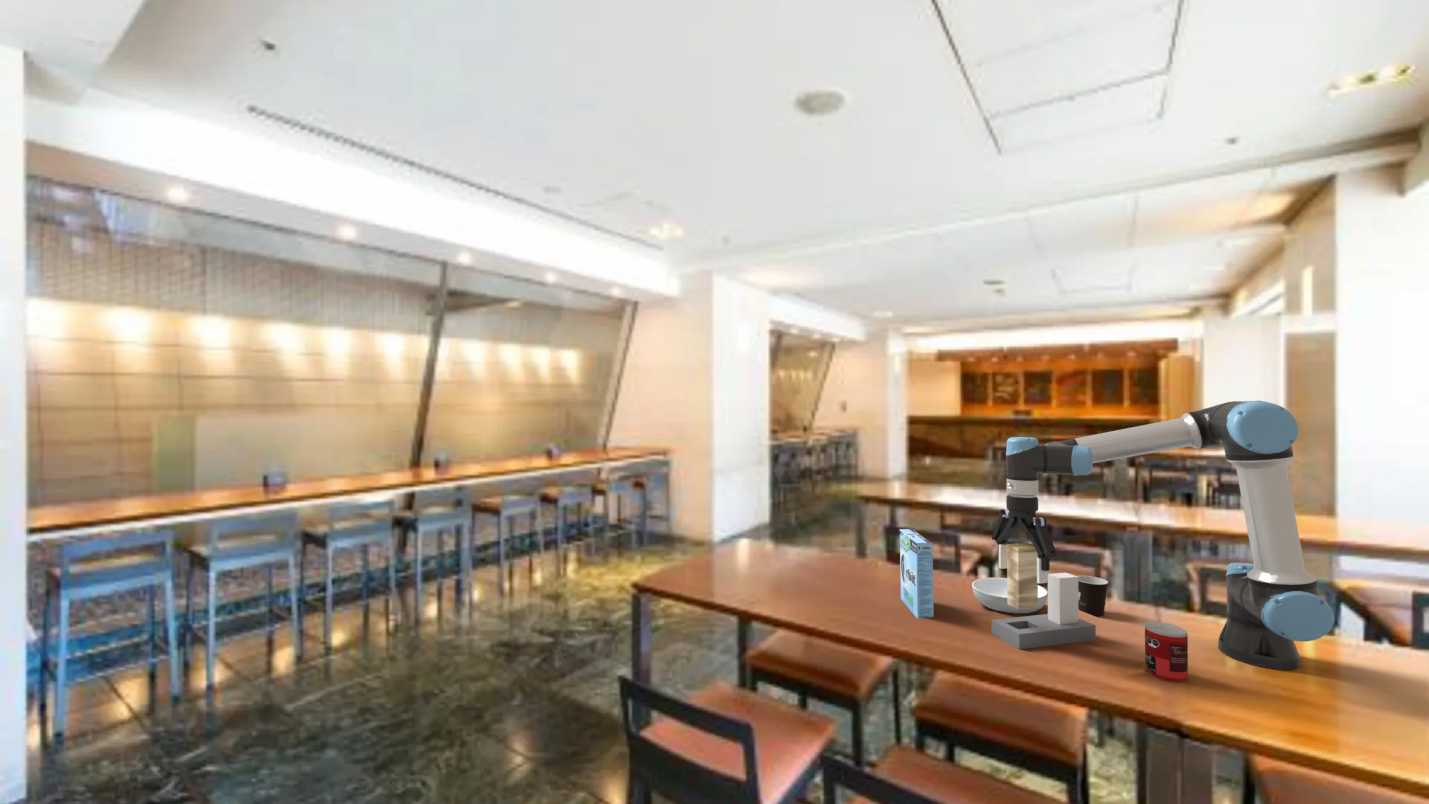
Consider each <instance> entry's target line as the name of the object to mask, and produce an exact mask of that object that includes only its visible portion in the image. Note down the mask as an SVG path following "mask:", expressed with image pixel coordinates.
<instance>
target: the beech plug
mask: <svg viewBox="0 0 1429 804" xmlns="http://www.w3.org/2000/svg"><path fill="white" fill-rule="evenodd" d="M1006 544H1007V568H1006V569H1007V571H1006V572H1007V573H1006V578H1007V604H1008V605H1010V606H1013V607H1015V608H1017V609H1026V608H1036V607H1038V585H1039V583H1037V557H1038V556H1039V554H1038V552H1037V550H1036V549H1035V547H1034V545H1033V544H1030V543H1027V542H1023V543H1022V542H1021V543H1019V542H1018V543H1006Z"/></svg>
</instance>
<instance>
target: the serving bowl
mask: <svg viewBox="0 0 1429 804" xmlns="http://www.w3.org/2000/svg"><path fill="white" fill-rule="evenodd" d="M971 587H972V591H973V594H974V596H975V598H976V599H977V600H978V602H980V604H982V605H984V606H985V607H987V608H989V609H991V610H993V611H997V612H1001V613H1007V614H1014V615H1016V614H1017V615H1025V614H1032V613H1034V612H1035V613H1036V612H1037V611H1039V610H1040V609H1042V608H1043V607H1044V606H1045V604H1046V603H1047V601H1048V590H1046V589H1045V587H1043V586H1041V585H1039V584H1038V607H1036V608H1026V609H1017V608H1015V607H1013V606H1010V605H1008V604H1007V577H984V578H979V579H976V580H974V581H973V582H972V583H971Z"/></svg>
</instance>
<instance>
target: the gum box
mask: <svg viewBox="0 0 1429 804" xmlns="http://www.w3.org/2000/svg"><path fill="white" fill-rule="evenodd" d="M933 548H934V547H933V542H931V541H929V540H928V539H927V538H926V537H924V536H923V535H921V534H920V533H919V532H917V531H916V530H915V529H912V528H909V529H908V528H906V529H905V528H903V529H901V528H900V529H899V553H900V554H899V556H900V557H899V558H900V560H899V563H900V570H899V571H900V575H899V577H900V599H901V601H902V602H903V603H904V605H905V606H906V608H908V610H909V611H910V612H911V614H913V616H914V617H915V618H916V619H918V620H919V619H930V618H934V616H935V615H934V614H935V613H934V611H935V610H934V609H935V608H934V562H933V561H934V559H933V558H934V555H933V551H934V550H933Z"/></svg>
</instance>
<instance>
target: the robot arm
mask: <svg viewBox="0 0 1429 804" xmlns="http://www.w3.org/2000/svg"><path fill="white" fill-rule="evenodd" d="M1298 436H1299V423H1298V421H1297V419H1296V418H1295V416H1294V415H1293V414H1292V413H1291V411H1289V410H1288V409H1286V408H1285V407H1283V406H1282V405H1279V404H1278V403H1277V404H1275V403H1272V402H1269V401H1265V400H1264V401H1263V400H1246V401H1245V400H1243V401H1241V400H1237V401H1235V400H1234V401H1228V402H1223V403H1219V404H1216V405H1213V406H1210V407H1206V408H1202V409H1199V410H1198V409H1197V410H1194V411H1189V412H1185V413H1183V414H1182V415H1181V417H1180V418H1175V419H1174V418H1173V419H1170V420H1169V419H1168V420H1163V421H1159V422H1153V423H1147V424H1143V425H1137V426H1133V427H1127V428H1121V429H1117V430H1113V431H1107V432H1102V433H1101V432H1100V433H1097V434H1092V435H1091V434H1090V435H1086V436H1082V437H1077V438H1072V439H1066V440H1062V441H1061V440H1060V441H1055V440H1054V441H1050V442H1047V443H1046V444H1043V445H1042V444H1039V440H1038V438H1036V437H1031V436H1029V437H1028V436H1013V437H1012V436H1011V437H1009V438H1008V439H1007V440H1006V451H1005V466H1006V467H1005V468H1006V470H1005V472H1006V473H1005V474H1006V493H1007V495H1006V498H1005V501H1006V503H1005V505H1006V508H1002V509H1000V510H999V518H998V520H997V522H996V524H995V527H994V530H993V532H992V535H991V540H992V541H995V543H996V544H997V555H998V569H1007V544H1009V540H1010V538H1011V537H1012V536H1013V535H1014V533H1015V532H1016V531H1018V530H1019V531H1021V532H1024V533H1025V534H1026V535H1027V536H1028V537H1029V539H1030V541H1031V543H1032V545H1034V547H1035V549H1036V550H1037V552H1038V557H1037V583H1038V585H1039V584H1048V574H1049V571H1050V570H1051V569H1050V566H1051V565H1050V562H1051V561H1050V559H1051V558H1056V557H1057V556H1058V553H1057V550H1056V548H1055V545H1054V542H1053V540H1052V537H1051V534H1050V531H1049V528H1048V523H1047V522H1048V521H1047V519H1046V517H1037V515H1036V513H1037V512H1038V510H1039V497H1037V496H1038V495H1039V474H1041V475H1042V474H1043V475H1046V474H1047V475H1048V474H1049V475H1063V476H1064V475H1065V476H1066V475H1067V476H1068V475H1069V476H1074V477H1077V476H1088V475H1090V474H1091V473H1092V470H1093V464H1097V463H1102V462H1109V461H1112V460H1113V461H1114V460H1119V459H1125V458H1131V457H1136V456H1143V455H1148V454H1152V453H1154V454H1155V453H1159V452H1165V451H1171V450H1176V449H1183V448H1188V447H1191V448H1193V449H1196V450H1199V449H1200V450H1201V449H1205V448H1224V449H1223V450H1224V454H1225V455H1224V456H1225V459H1226V462H1228V463H1230V464H1232V465H1233V466H1234V467H1235V469H1236V475H1237V479H1238V485H1239V492H1240V496H1241V502H1242V507H1243V513H1244V519H1245V524H1246V525H1245V526H1246V529H1247V535H1248V540H1249V547H1250V551H1251V552H1250V553H1251V557H1252V558H1251V559H1252V562H1253V563H1248V562H1232V563H1231V562H1230V563H1229V564H1228V565H1227V568H1226V574H1225V577H1226V621H1225V622H1224V623H1225V624H1224V625H1223V628H1222V629H1221V632H1220V634H1219V637H1218V639H1217V644H1218V645H1217V647H1218V650H1219V652H1221V653H1222V654H1223V655H1226V656H1227V657H1230V658H1232V659H1235V660H1237V661H1240V662H1243V663H1247V664H1249V665H1254V666H1258V667H1262V668H1263V667H1264V668H1267V669H1277V670H1295V669H1298V668H1300V667H1301V656H1300V653H1299V651H1298V648H1297V646H1296V643H1295V642H1303V643H1304V642H1311V641H1316V640H1319V639H1321V638H1323V636H1325V635H1326V634H1328V633H1329V632H1330V631H1331V629H1332V628H1333V627H1334V623H1335V616H1334V612H1333V609H1332V607H1331V606H1330V605H1329V604H1328V602H1327V601H1326V600H1325V599H1323V598H1322V597H1321V596H1320V590H1319V585H1318V579H1317V577H1316V576H1315V575H1314V574H1313V573H1311V572H1310V571H1308V570H1307V569H1306V567H1305V561H1304V556H1303V550H1302V544H1301V539H1300V536H1299V529H1298V523H1297V517H1296V513H1295V507H1294V501H1293V497H1292V491H1291V486H1290V480H1289V476H1288V471H1287V469H1288V468H1287V464H1288V463H1289V462H1290V461H1291V460H1292V459H1293V458H1294V452H1293V451H1294V450H1293V444H1294V443H1295V441H1296V440H1297V439H1298Z"/></svg>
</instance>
